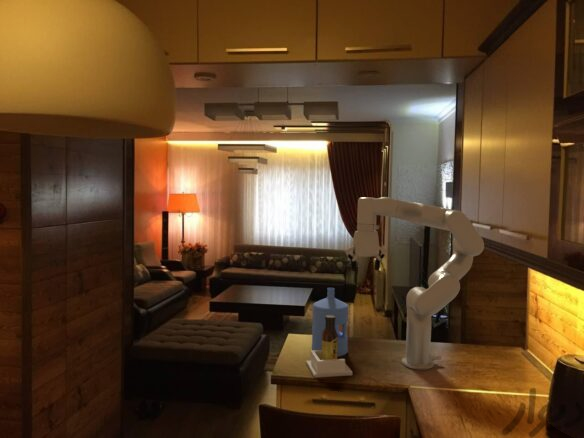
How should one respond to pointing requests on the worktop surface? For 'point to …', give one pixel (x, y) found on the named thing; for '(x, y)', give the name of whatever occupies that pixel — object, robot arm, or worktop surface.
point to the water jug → (319, 312)
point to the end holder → (327, 366)
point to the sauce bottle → (329, 339)
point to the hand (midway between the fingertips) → (365, 270)
